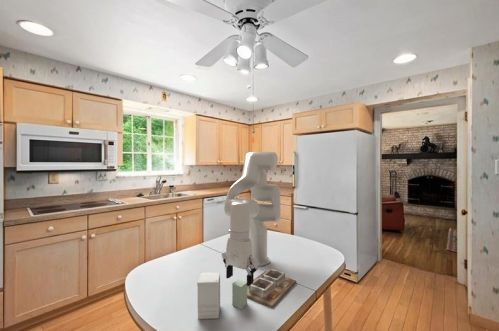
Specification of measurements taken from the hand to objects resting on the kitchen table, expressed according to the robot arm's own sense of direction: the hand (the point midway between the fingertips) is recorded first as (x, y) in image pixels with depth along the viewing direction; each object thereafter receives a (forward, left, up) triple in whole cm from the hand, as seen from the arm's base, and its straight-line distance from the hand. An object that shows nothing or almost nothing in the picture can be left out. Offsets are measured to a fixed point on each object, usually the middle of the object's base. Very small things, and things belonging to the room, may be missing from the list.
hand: (239, 280), depth 84 cm
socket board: (+3, +17, -9) cm, 19 cm away
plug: (0, +1, -9) cm, 9 cm away
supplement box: (-6, -9, -9) cm, 15 cm away
